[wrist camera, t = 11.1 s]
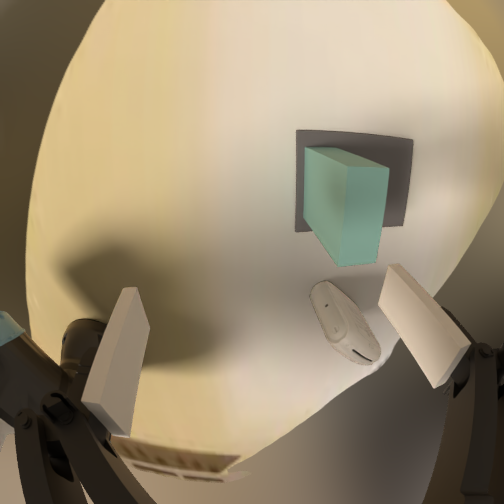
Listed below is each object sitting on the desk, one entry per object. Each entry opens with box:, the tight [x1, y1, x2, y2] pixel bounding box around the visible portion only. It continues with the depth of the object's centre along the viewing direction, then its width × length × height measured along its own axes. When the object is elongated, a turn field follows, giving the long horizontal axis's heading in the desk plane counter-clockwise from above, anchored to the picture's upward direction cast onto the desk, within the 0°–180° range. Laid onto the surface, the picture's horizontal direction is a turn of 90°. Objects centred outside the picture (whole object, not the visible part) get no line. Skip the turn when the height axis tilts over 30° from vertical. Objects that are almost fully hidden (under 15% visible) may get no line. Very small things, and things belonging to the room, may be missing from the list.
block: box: [303, 147, 389, 267], centre depth 27 cm, size 4×9×12 cm, turn 2°
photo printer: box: [310, 281, 381, 365], centre depth 36 cm, size 10×4×12 cm, turn 48°
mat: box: [295, 130, 413, 232], centre depth 32 cm, size 17×13×1 cm
